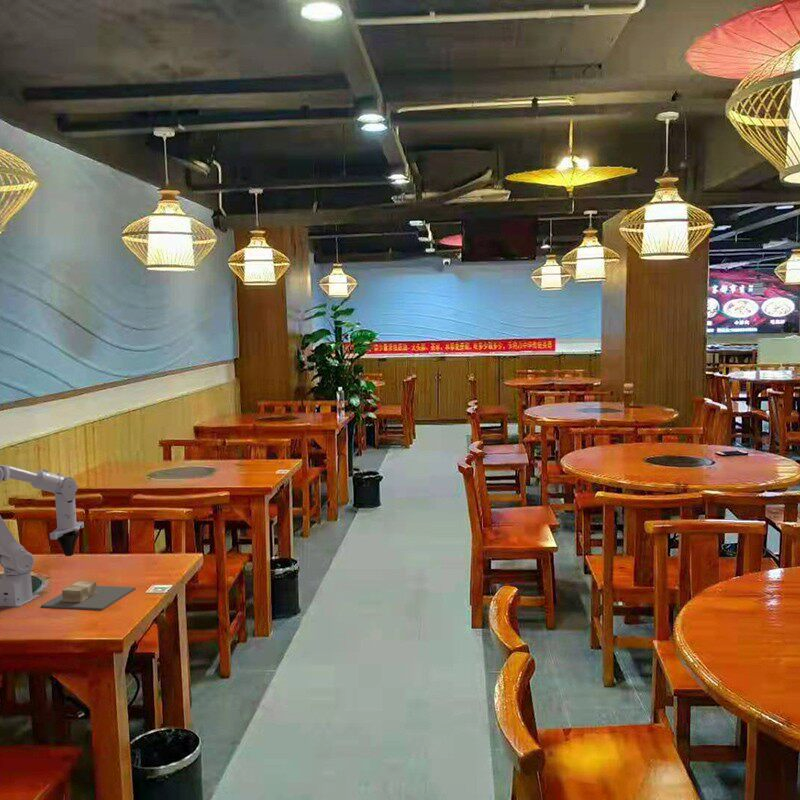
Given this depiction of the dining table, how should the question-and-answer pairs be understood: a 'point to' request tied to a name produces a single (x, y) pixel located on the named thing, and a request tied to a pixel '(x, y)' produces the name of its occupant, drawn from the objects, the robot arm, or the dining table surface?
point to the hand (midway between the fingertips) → (69, 555)
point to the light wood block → (79, 591)
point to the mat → (93, 599)
